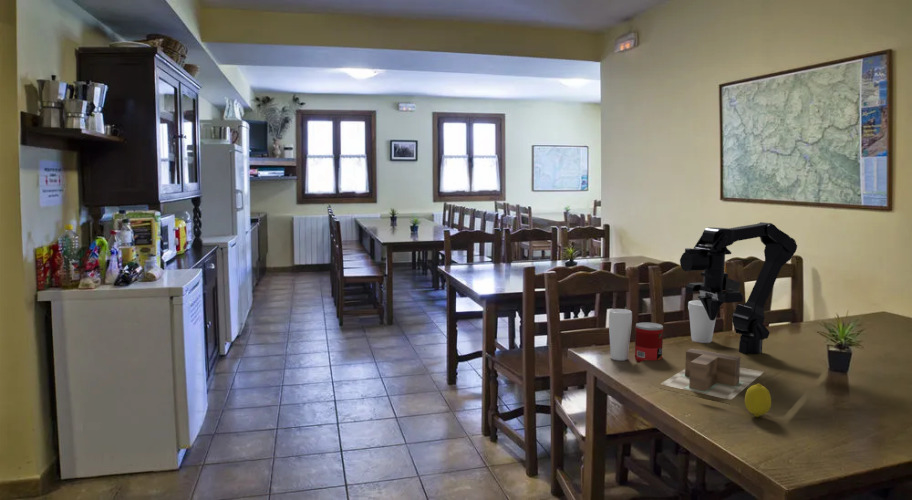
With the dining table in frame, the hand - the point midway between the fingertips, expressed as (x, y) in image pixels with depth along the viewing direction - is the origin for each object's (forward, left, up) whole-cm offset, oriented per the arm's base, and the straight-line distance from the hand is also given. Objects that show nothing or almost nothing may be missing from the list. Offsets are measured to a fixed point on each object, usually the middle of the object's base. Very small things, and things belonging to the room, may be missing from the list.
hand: (712, 320), depth 191 cm
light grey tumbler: (+25, -12, -13) cm, 30 cm away
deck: (+16, +16, -12) cm, 26 cm away
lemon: (+26, +39, -13) cm, 48 cm away
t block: (+21, +19, -11) cm, 31 cm away
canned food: (+18, -7, -13) cm, 23 cm away
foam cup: (-14, -18, -13) cm, 26 cm away
